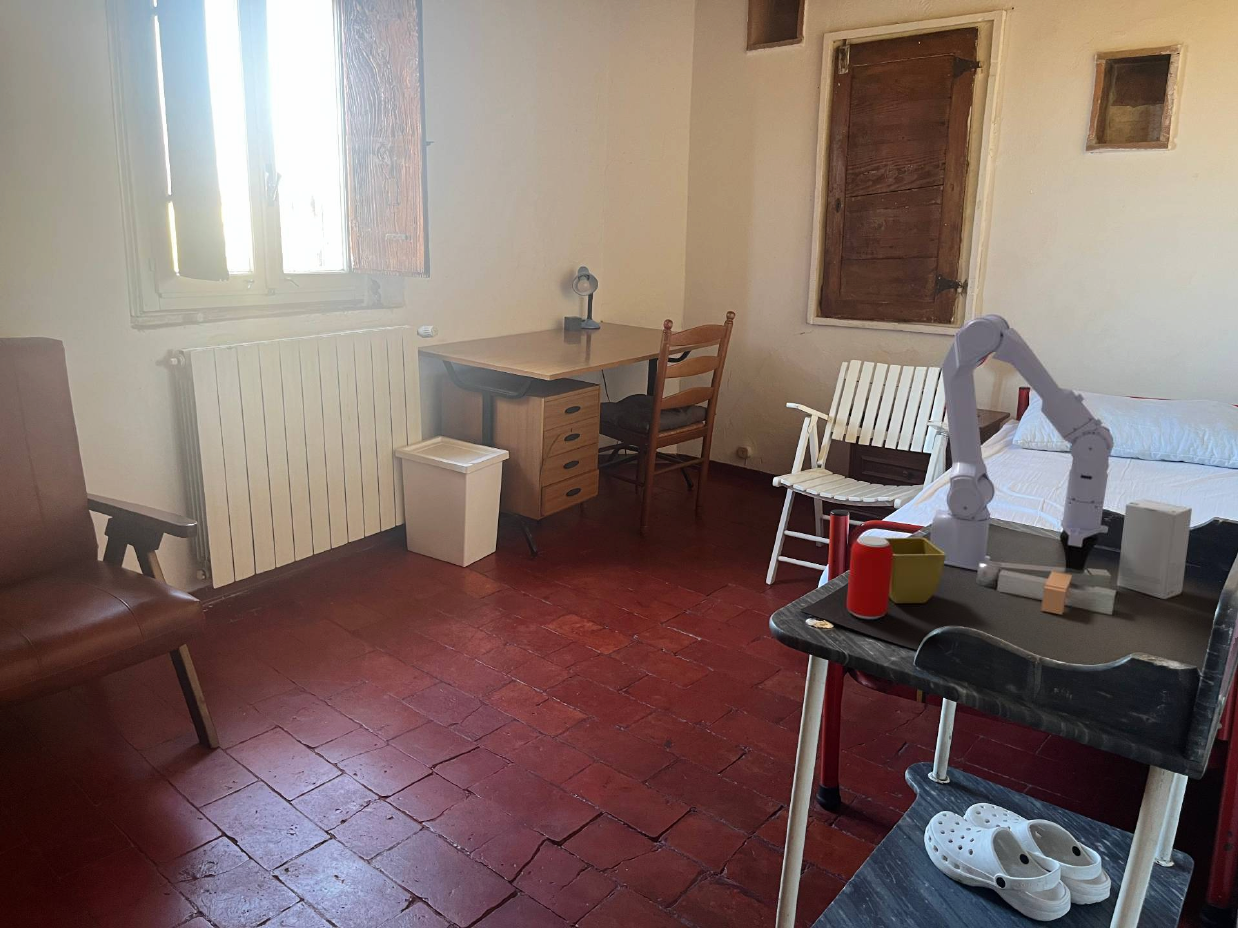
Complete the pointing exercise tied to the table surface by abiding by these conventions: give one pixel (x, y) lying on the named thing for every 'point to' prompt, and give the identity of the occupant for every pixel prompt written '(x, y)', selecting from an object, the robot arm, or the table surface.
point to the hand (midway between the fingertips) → (1073, 575)
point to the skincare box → (1154, 548)
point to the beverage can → (869, 577)
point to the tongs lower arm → (1075, 594)
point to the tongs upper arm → (1040, 573)
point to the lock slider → (1055, 592)
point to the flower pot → (914, 569)
